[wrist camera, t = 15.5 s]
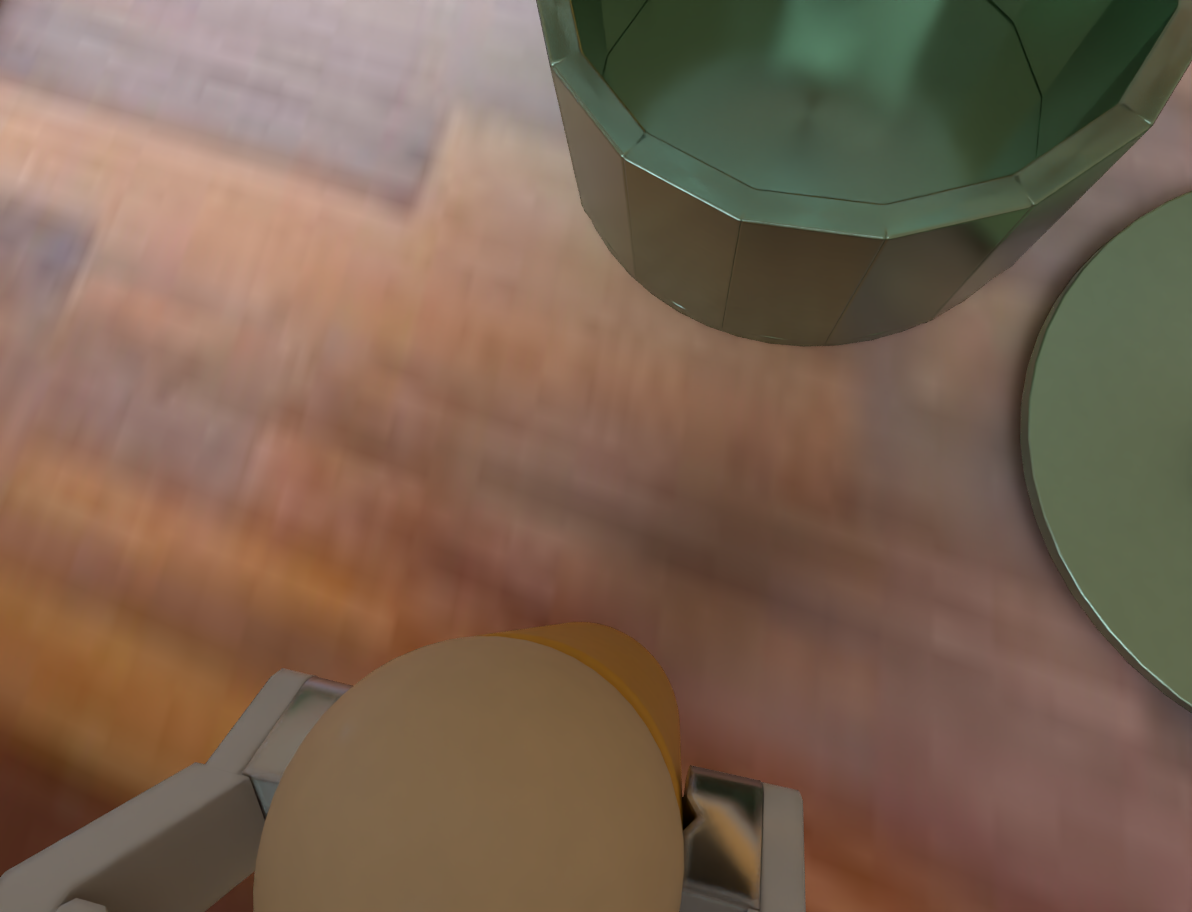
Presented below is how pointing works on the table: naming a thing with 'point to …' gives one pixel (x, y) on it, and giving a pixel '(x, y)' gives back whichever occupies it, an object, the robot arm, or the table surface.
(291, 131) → the table surface
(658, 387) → the table surface
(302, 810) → the toy
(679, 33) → the pot
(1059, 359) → the lid
